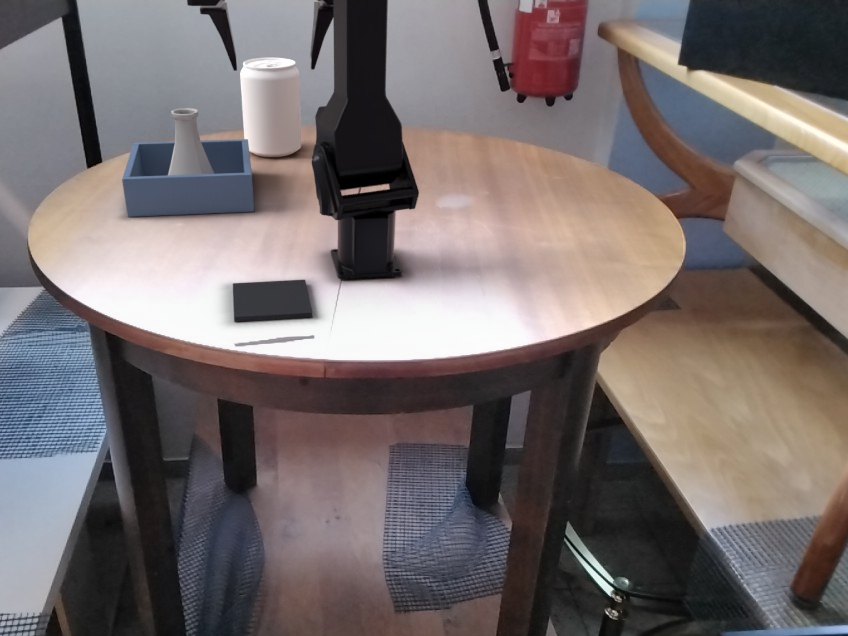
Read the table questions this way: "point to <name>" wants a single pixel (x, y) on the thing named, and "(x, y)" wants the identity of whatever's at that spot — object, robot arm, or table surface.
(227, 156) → the tote
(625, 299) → the table surface
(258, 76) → the beverage can
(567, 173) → the table surface
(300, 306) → the coaster
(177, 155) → the flask
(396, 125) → the robot arm
